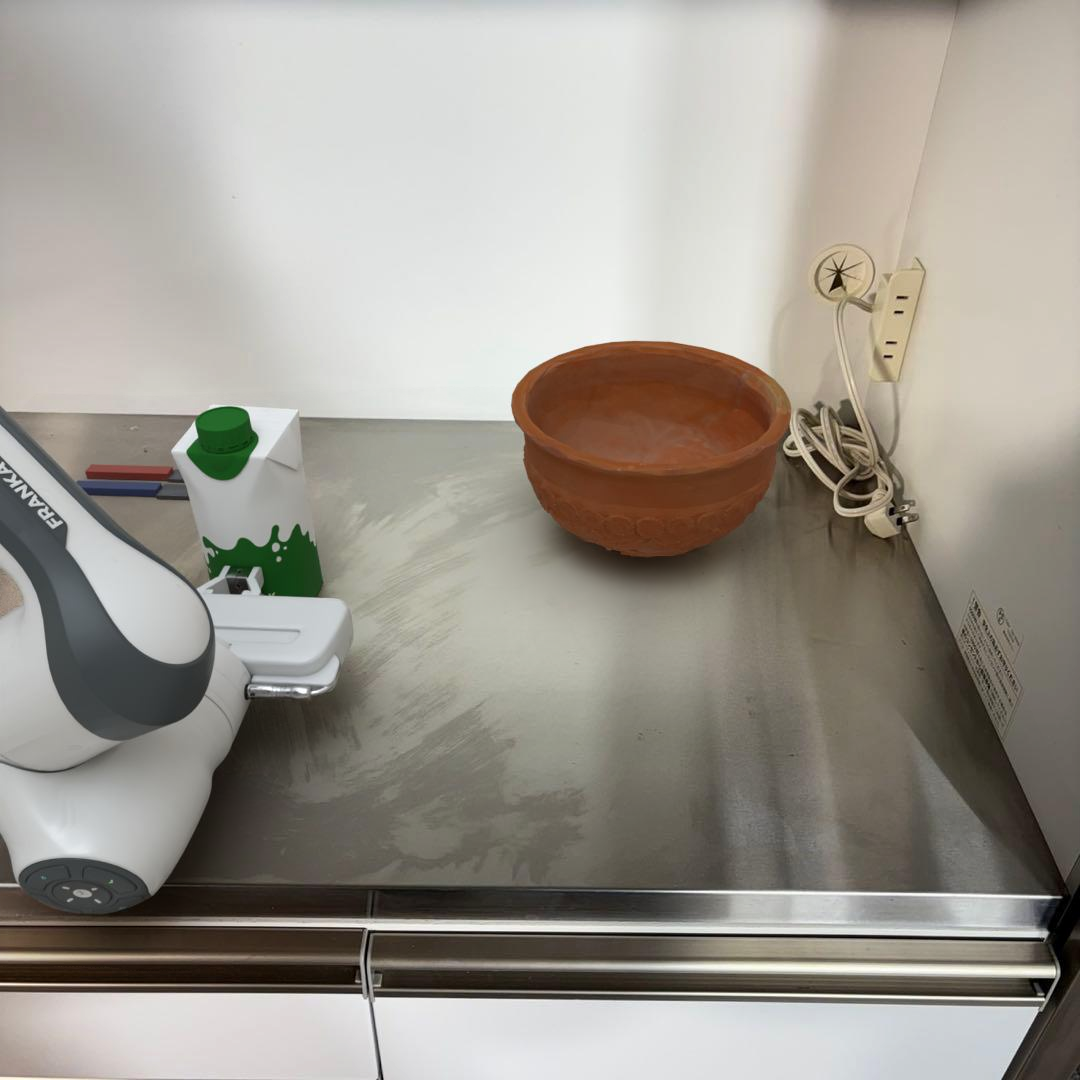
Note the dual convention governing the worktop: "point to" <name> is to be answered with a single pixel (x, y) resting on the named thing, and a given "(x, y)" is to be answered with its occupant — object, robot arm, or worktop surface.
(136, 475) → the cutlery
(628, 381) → the bowl
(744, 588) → the worktop surface
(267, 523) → the milk carton
